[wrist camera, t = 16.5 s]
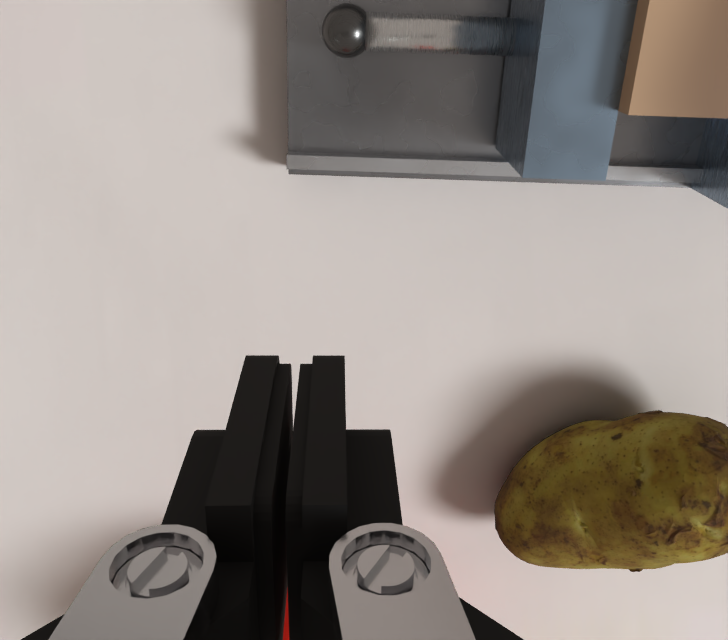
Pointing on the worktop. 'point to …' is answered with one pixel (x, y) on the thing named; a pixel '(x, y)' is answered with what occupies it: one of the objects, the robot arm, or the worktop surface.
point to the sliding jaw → (523, 72)
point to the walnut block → (678, 60)
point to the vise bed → (454, 113)
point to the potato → (620, 494)
